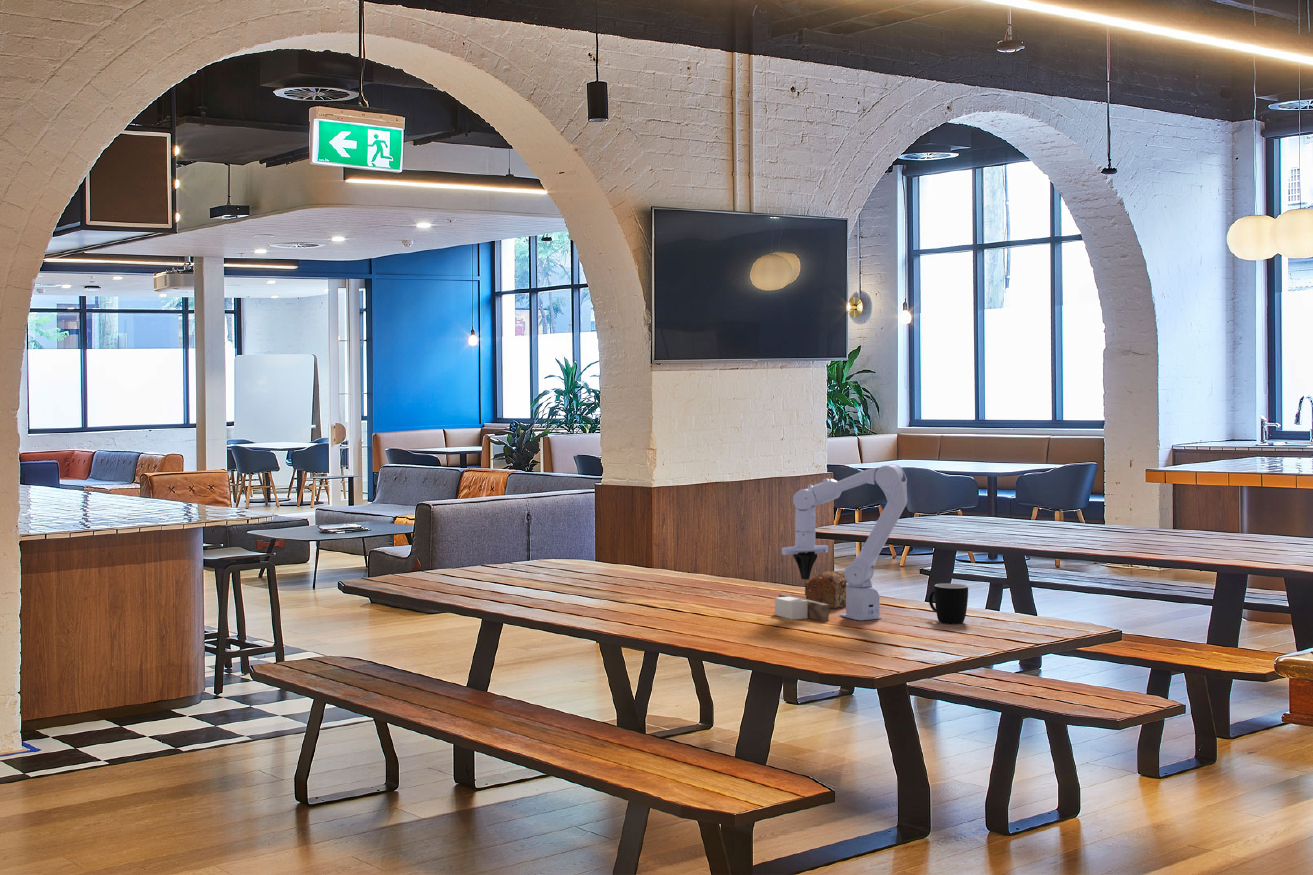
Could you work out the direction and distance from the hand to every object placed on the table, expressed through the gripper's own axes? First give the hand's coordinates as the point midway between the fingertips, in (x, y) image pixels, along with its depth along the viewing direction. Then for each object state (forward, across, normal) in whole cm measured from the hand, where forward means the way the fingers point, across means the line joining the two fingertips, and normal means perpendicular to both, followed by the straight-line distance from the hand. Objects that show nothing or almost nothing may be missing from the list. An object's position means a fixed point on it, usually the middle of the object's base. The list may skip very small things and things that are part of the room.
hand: (805, 578), depth 364 cm
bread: (+10, -17, -11) cm, 23 cm away
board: (+10, +2, +2) cm, 10 cm away
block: (+10, +6, +2) cm, 12 cm away
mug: (+10, -27, +29) cm, 41 cm away
